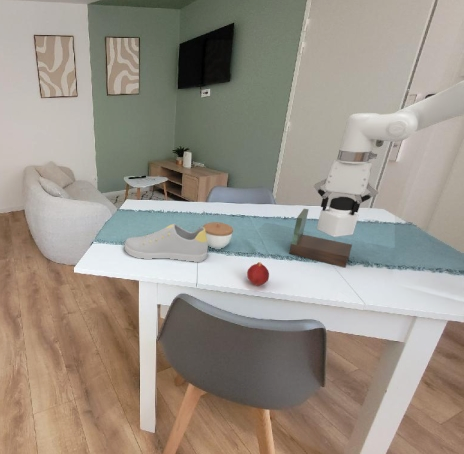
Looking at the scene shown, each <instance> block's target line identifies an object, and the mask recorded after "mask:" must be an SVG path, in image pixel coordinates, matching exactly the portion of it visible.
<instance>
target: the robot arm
mask: <svg viewBox="0 0 464 454" xmlns="http://www.w3.org/2000/svg"><path fill="white" fill-rule="evenodd" d="M461 116H464V79H463V80H461V81H459V82H457V83H455V84H453V85H451V86H450V87H448V88H446V89H443V90H442V91H440V92H437V93H435V94H433V95H431V96H429V97H426V98H424V99H422V100H420V101H417V102H414V103H413V104H411V105H408V106H406V107H403V108H401V109H399V110H397V111H394V112H392V113H383V114H382V113H378V112H358V113H357V112H356V113H352V114H350V115H349V116H348V118H347V120H346V123H345V128H344V131H343V135H342V139H341V143H340V146H339V149H338V150H339V151H338V155H337V157H336V159H334V160H333V162H332V164H331V166H330V169H329V171H328V174H327V177H326V178H324V179H322V180H320V181H319V182H317V183H315V184H314V185H313V188H314V189H315V190H316V192H317V193H318V194H319V195H320V197H321V199H322V200H321V203H320V208H322V209H321V210H322V211H324V210H327V207H328V203H329V196H330V195H331V194H332V193H335V194H344V195H353V196H354V198H355V200H354V201H355V203H354V206H353V209H352V213H351V215H354V213H355V214H358V212H359V209H360V206H361V204H362V203H364V202H367V201H368V200H370V199H371V198H374V197H375V196H377V195H378V194H379V191H378V189H377V188H375V187H374V186H373V185H372V184H371V183H370V182H369V180H370V176H371V171H372V167H373V166H372V164H373V163H372V161H370V160H373V159H377V156H378V153H374V152H372V151H373V148H374V145H375V142H376V140H377V141H383V142H390V143H391V142H392V143H394V142H395V143H396V142H402V141H404V140H406V139H409V138H410V137H411V136H413V135H414V134H415V133H416V132H418V131H421V130H423V129H426V128H429V127H432V126H433V125H436V124H439V123H442V122H444V121H447V120H450V119H453V118H456V117H461ZM322 186H324V189H323V188H322ZM366 190H368V192H369V193H367V194H365V192H366ZM364 194H365V195H364Z"/></svg>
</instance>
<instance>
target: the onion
mask: <svg viewBox="0 0 464 454" xmlns="http://www.w3.org/2000/svg"><path fill="white" fill-rule="evenodd" d="M246 277H247V279H248V281H250V283H251V284H252V285H254V286H257V287H258V286H261V285H265V284H266V283H267V282H268V281H269V279H270V272H269V269H268V268H267V266H265V265H264V264H263V263H262V262H261V261H260V262H257V263H254V264H252V265H251V266H250V267H249V268H248V270H247V272H246Z"/></svg>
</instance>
